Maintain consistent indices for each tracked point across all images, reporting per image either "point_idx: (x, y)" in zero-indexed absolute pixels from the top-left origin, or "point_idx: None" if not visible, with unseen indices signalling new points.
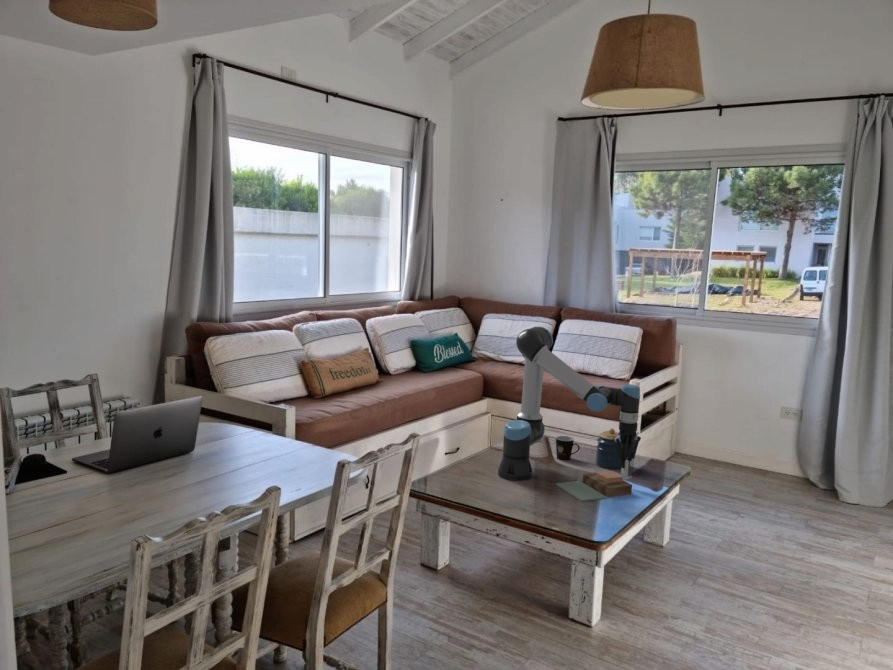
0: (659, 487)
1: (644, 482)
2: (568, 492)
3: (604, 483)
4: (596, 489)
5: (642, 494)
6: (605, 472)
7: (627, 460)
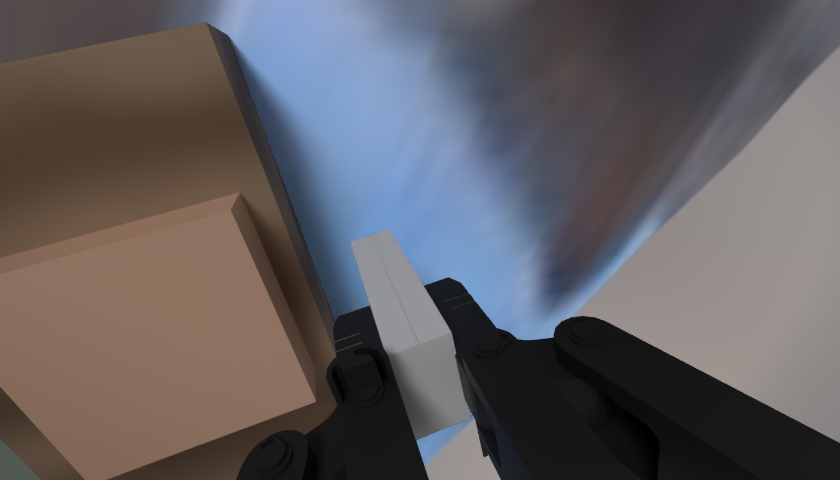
0: (613, 239)
1: (576, 133)
2: None
3: None
4: None
5: None
6: (104, 292)
7: (461, 397)
